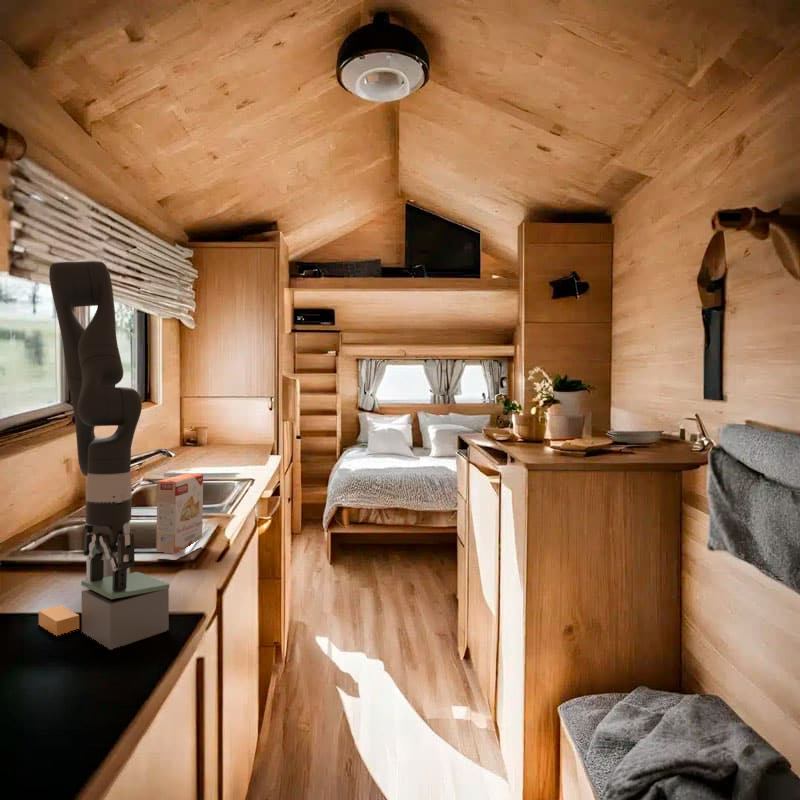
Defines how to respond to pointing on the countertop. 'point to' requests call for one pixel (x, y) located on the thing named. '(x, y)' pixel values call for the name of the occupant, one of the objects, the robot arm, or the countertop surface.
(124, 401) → the robot arm
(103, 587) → the lid
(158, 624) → the storage box
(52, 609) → the orange rectangular block
